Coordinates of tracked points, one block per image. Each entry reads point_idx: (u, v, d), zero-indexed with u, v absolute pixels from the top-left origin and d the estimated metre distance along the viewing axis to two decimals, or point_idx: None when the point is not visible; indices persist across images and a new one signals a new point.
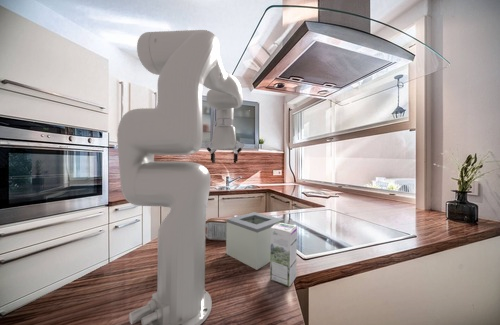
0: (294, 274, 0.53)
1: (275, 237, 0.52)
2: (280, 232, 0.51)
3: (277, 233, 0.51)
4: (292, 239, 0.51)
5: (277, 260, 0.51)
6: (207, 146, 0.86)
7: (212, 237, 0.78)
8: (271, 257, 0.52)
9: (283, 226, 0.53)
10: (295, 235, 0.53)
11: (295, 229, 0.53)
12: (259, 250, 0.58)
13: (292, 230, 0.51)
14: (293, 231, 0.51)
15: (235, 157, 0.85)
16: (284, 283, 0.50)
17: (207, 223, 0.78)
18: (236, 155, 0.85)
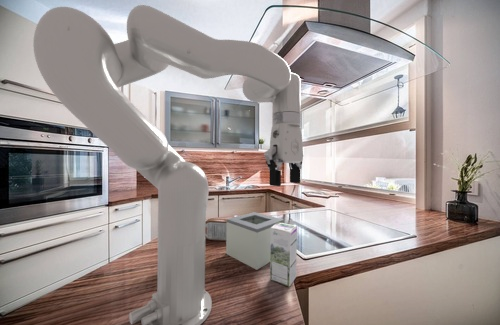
0: (294, 274, 0.53)
1: (275, 237, 0.52)
2: (280, 232, 0.51)
3: (277, 233, 0.51)
4: (292, 239, 0.51)
5: (277, 260, 0.51)
6: (271, 157, 0.48)
7: (212, 237, 0.78)
8: (271, 257, 0.52)
9: (283, 226, 0.53)
10: (295, 235, 0.53)
11: (295, 229, 0.53)
12: (259, 250, 0.58)
13: (292, 230, 0.51)
14: (293, 231, 0.51)
15: None
16: (284, 283, 0.50)
17: (207, 223, 0.78)
18: None
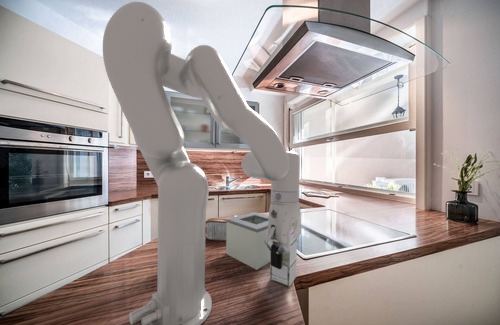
0: (294, 274, 0.53)
1: (275, 237, 0.52)
2: None
3: None
4: (292, 239, 0.51)
5: None
6: (271, 244, 0.48)
7: (212, 237, 0.78)
8: None
9: None
10: None
11: None
12: (259, 250, 0.58)
13: (292, 230, 0.51)
14: (293, 231, 0.51)
15: None
16: (284, 283, 0.50)
17: (207, 223, 0.78)
18: None
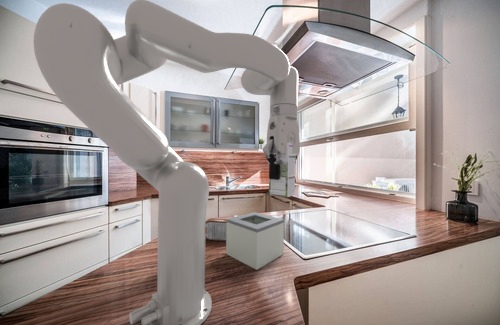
0: (292, 189, 0.53)
1: (274, 151, 0.52)
2: None
3: None
4: (290, 152, 0.51)
5: None
6: (269, 152, 0.49)
7: (212, 237, 0.78)
8: None
9: None
10: None
11: None
12: (259, 250, 0.58)
13: (290, 143, 0.52)
14: (291, 145, 0.52)
15: None
16: (282, 194, 0.51)
17: (207, 223, 0.78)
18: None
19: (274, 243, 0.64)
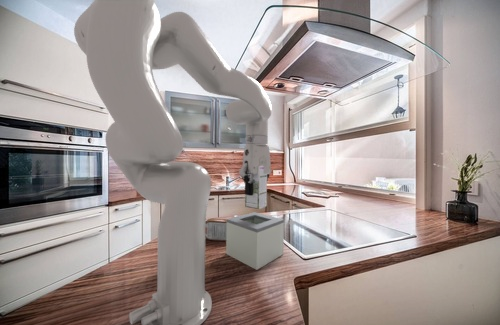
0: (264, 202, 0.67)
1: (248, 172, 0.65)
2: None
3: None
4: (261, 173, 0.65)
5: None
6: (244, 174, 0.62)
7: (212, 237, 0.78)
8: None
9: None
10: None
11: None
12: (259, 250, 0.58)
13: (262, 166, 0.65)
14: (262, 167, 0.65)
15: None
16: (255, 207, 0.64)
17: (207, 223, 0.78)
18: None
19: (274, 243, 0.64)
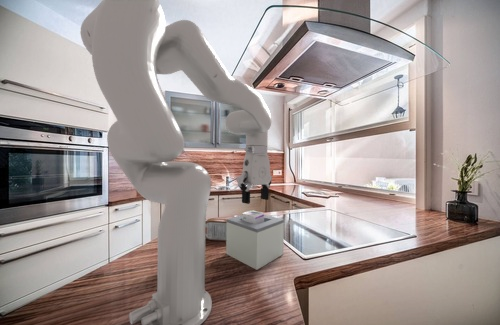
0: None
1: None
2: (248, 216, 0.64)
3: (245, 217, 0.65)
4: (257, 223, 0.64)
5: None
6: (241, 182, 0.61)
7: (212, 237, 0.78)
8: None
9: (251, 212, 0.66)
10: (262, 220, 0.66)
11: (261, 215, 0.66)
12: (259, 250, 0.58)
13: (257, 215, 0.64)
14: (258, 216, 0.64)
15: None
16: None
17: (207, 223, 0.78)
18: None
19: (274, 243, 0.64)
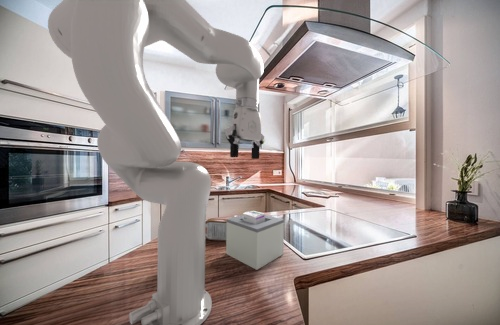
0: None
1: None
2: (248, 217, 0.64)
3: (246, 218, 0.65)
4: (257, 223, 0.64)
5: None
6: (229, 133, 0.59)
7: (212, 237, 0.78)
8: None
9: (252, 213, 0.66)
10: (262, 220, 0.66)
11: (262, 215, 0.66)
12: (259, 250, 0.58)
13: (258, 216, 0.64)
14: (259, 217, 0.64)
15: (258, 151, 0.68)
16: None
17: (207, 223, 0.78)
18: (258, 149, 0.68)
19: (274, 243, 0.64)
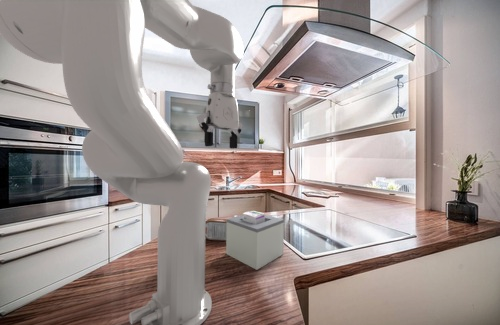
0: None
1: None
2: (248, 217, 0.64)
3: (246, 218, 0.65)
4: (257, 223, 0.64)
5: None
6: (202, 120, 0.55)
7: (212, 237, 0.78)
8: None
9: (252, 213, 0.66)
10: (262, 220, 0.66)
11: (262, 215, 0.66)
12: (259, 250, 0.58)
13: (258, 216, 0.64)
14: (259, 217, 0.64)
15: (236, 140, 0.64)
16: None
17: (207, 223, 0.78)
18: (236, 138, 0.65)
19: (274, 243, 0.64)
